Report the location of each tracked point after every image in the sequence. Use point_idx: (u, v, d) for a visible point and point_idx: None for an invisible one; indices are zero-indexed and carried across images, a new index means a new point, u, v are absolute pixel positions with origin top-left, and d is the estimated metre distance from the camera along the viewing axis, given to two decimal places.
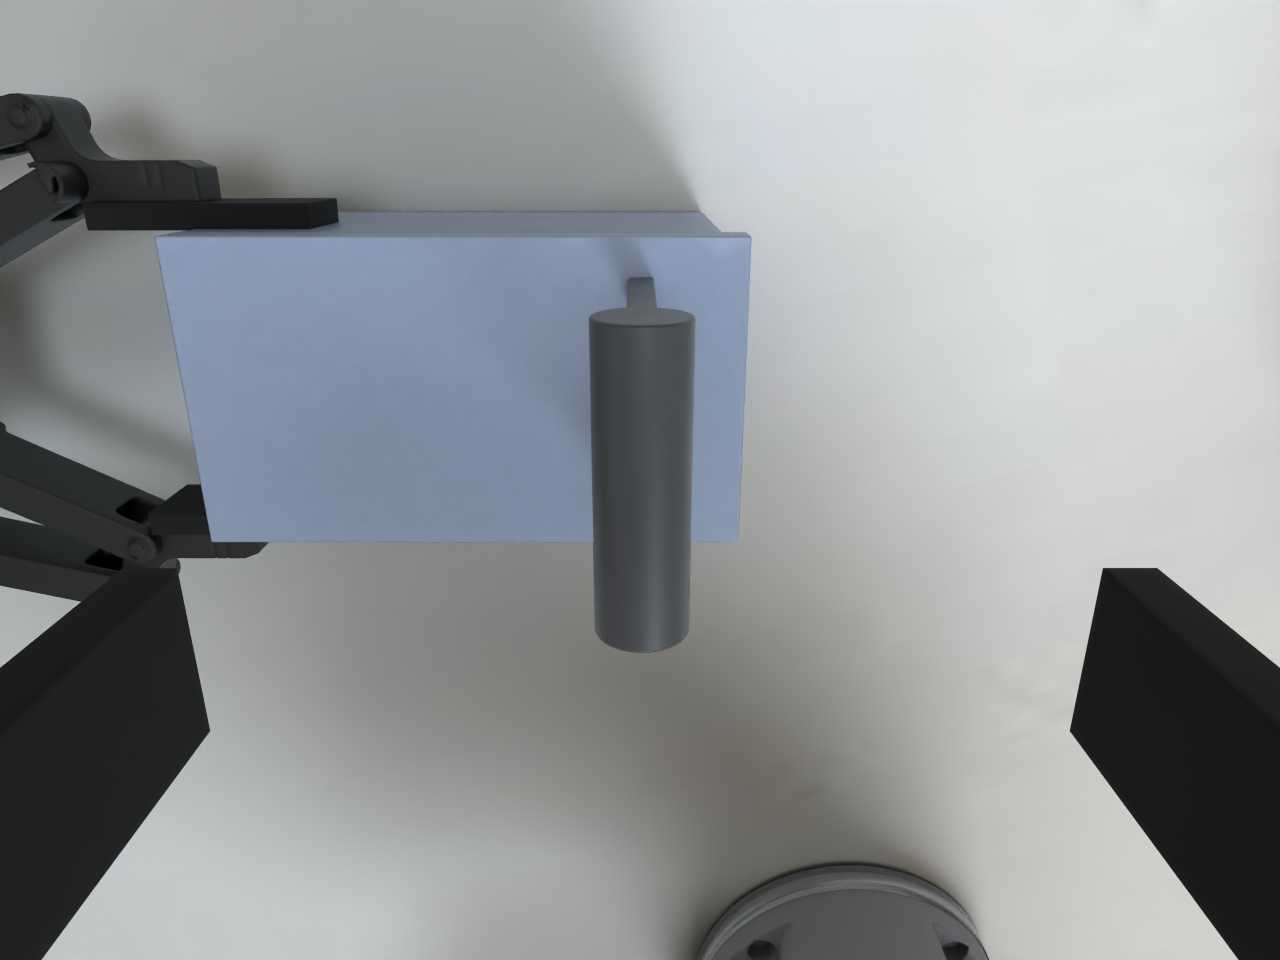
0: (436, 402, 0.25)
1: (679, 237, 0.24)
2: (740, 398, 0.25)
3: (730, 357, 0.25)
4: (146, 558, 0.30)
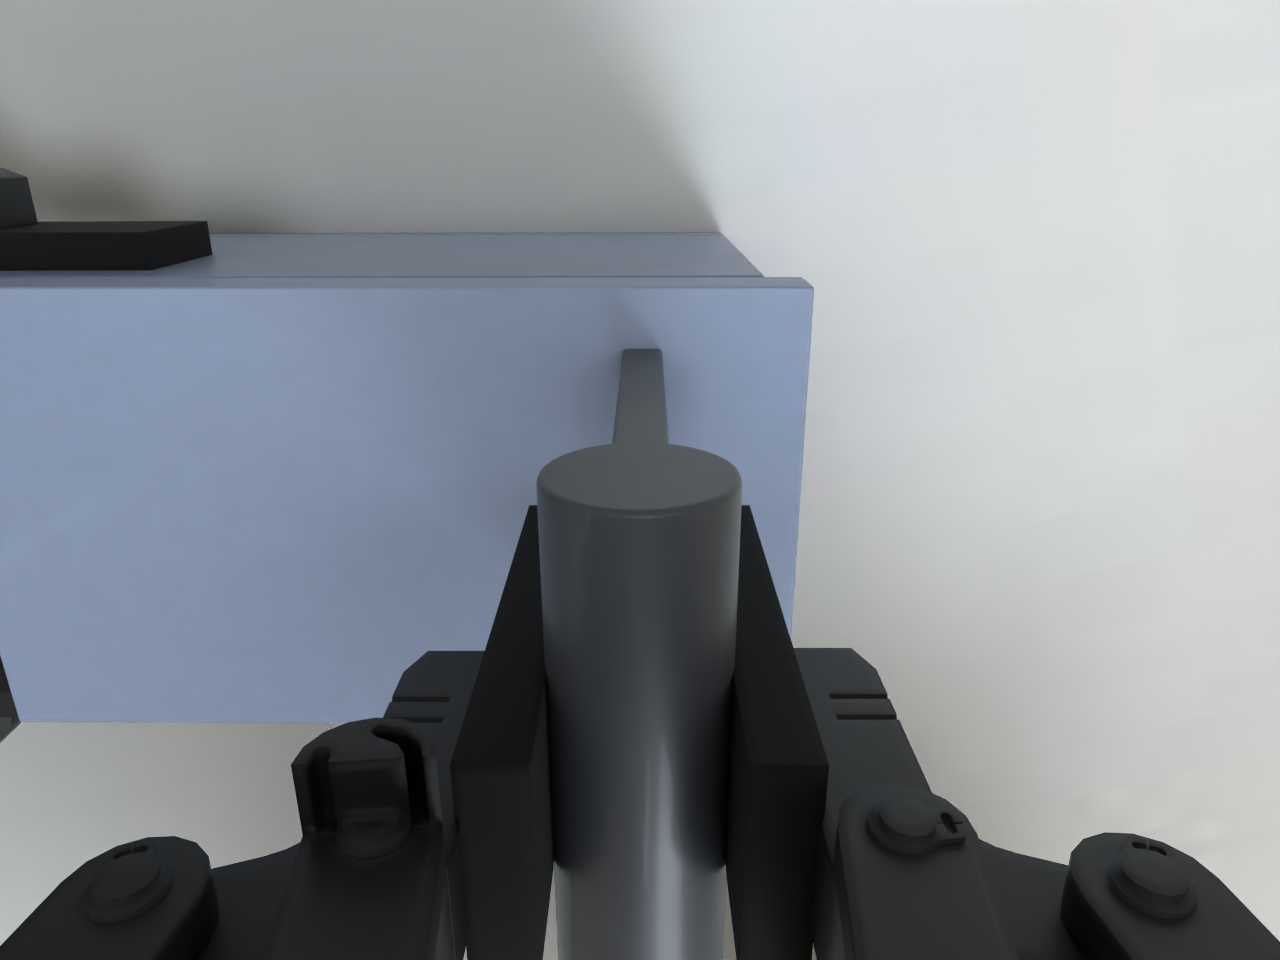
0: (335, 530, 0.17)
1: (701, 288, 0.15)
2: (792, 526, 0.17)
3: (778, 467, 0.16)
4: None
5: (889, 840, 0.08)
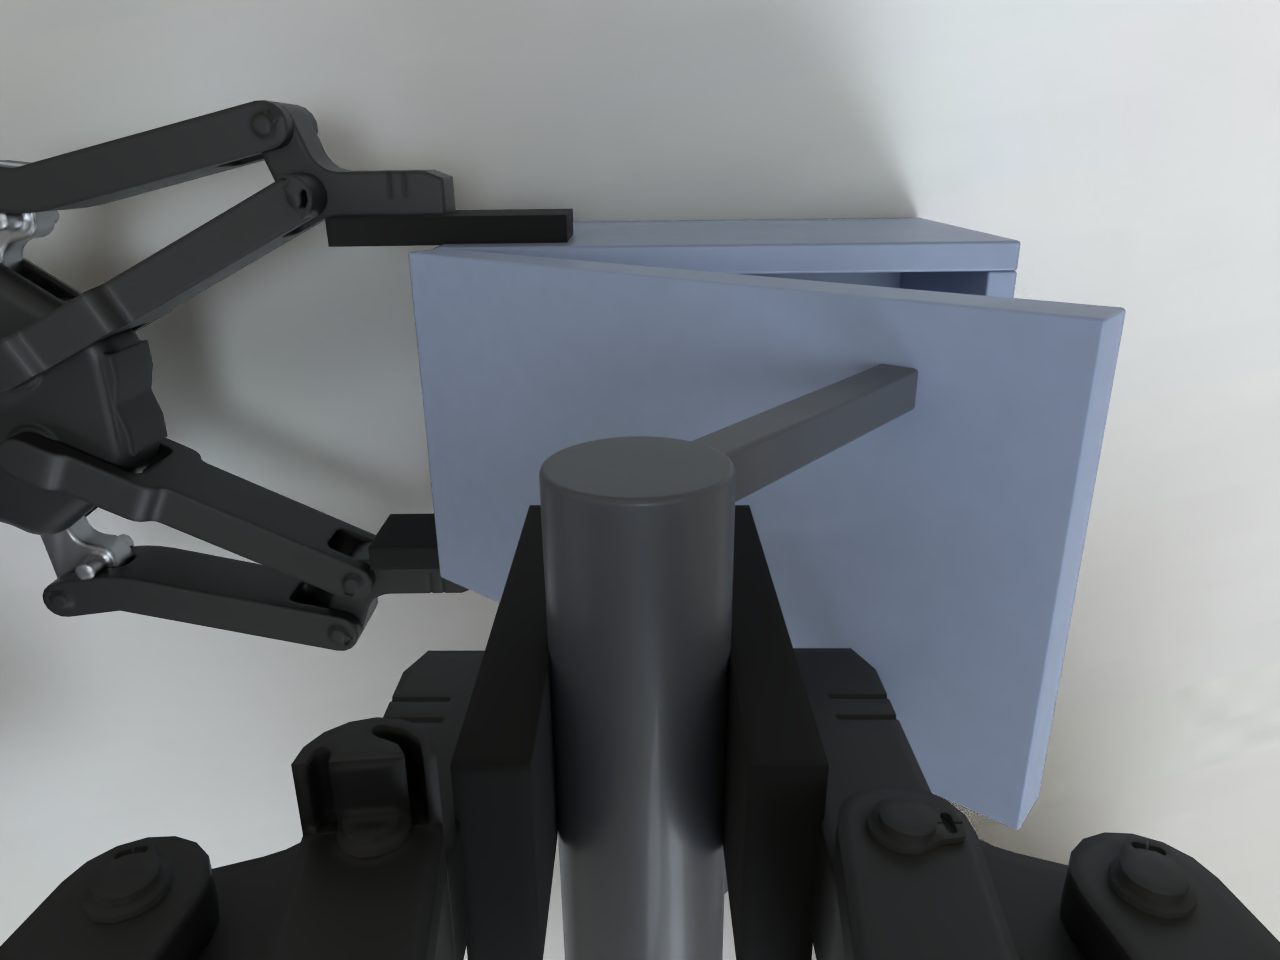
0: None
1: (970, 307, 0.14)
2: (1048, 601, 0.14)
3: (1039, 527, 0.14)
4: (360, 595, 0.28)
5: (888, 840, 0.08)
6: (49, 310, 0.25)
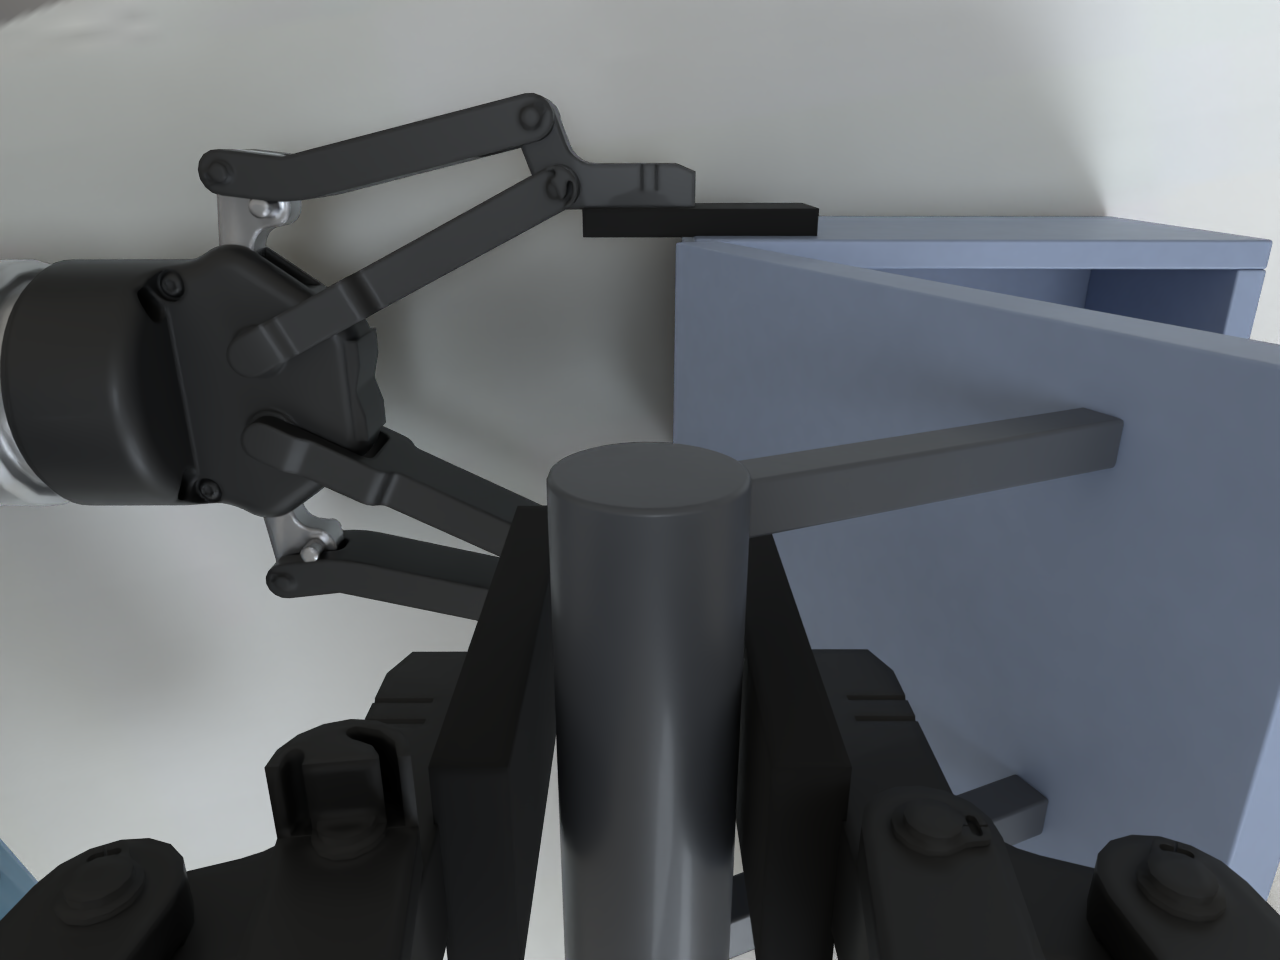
0: None
1: (1196, 350, 0.11)
2: (1252, 744, 0.11)
3: (1250, 646, 0.11)
4: None
5: (914, 842, 0.08)
6: (299, 297, 0.26)
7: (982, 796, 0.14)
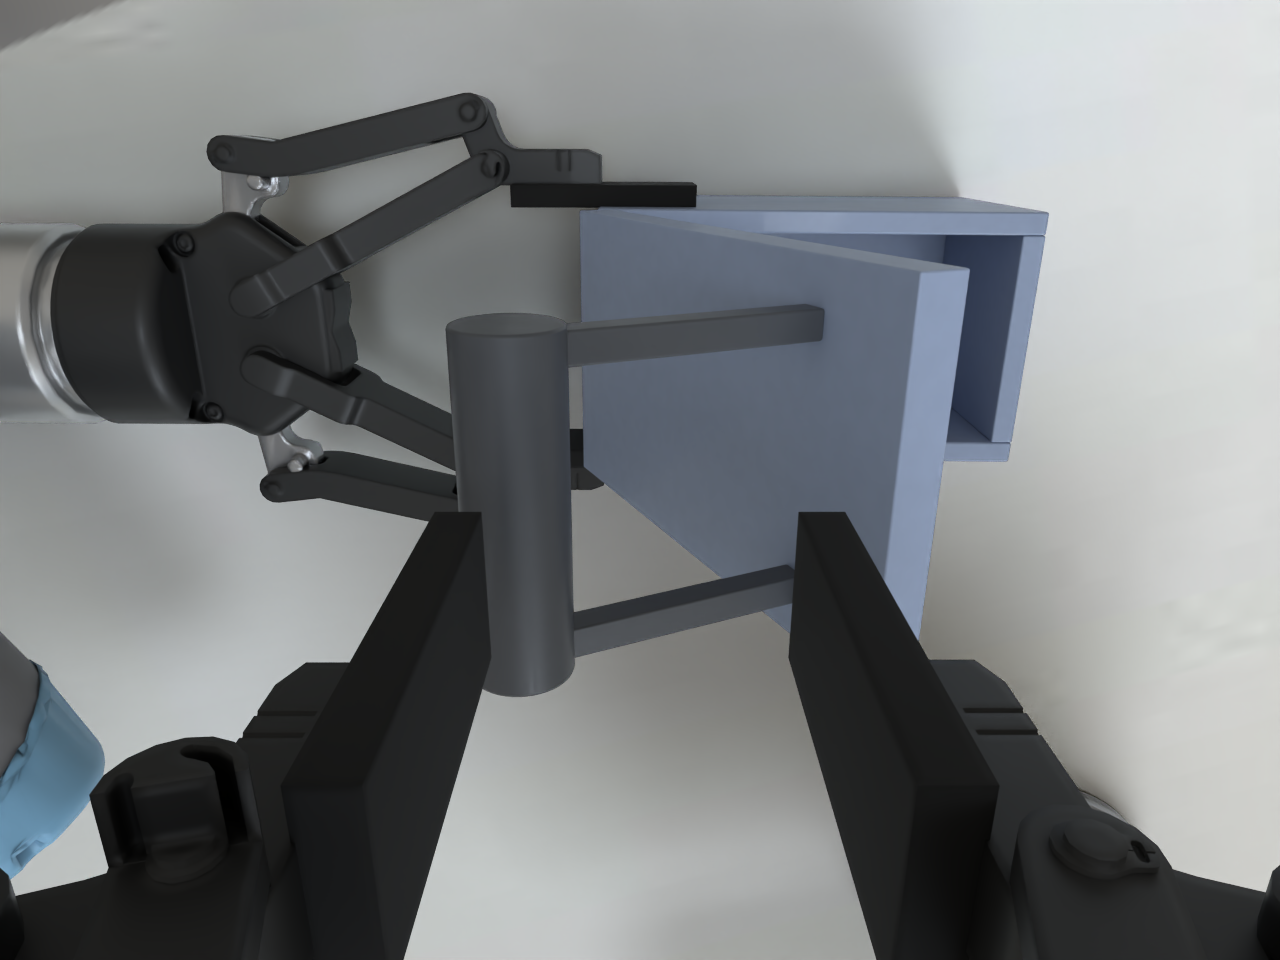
0: (679, 399, 0.25)
1: (853, 260, 0.17)
2: (888, 502, 0.17)
3: (884, 440, 0.17)
4: None
5: (1075, 862, 0.07)
6: (287, 254, 0.32)
7: (759, 574, 0.21)
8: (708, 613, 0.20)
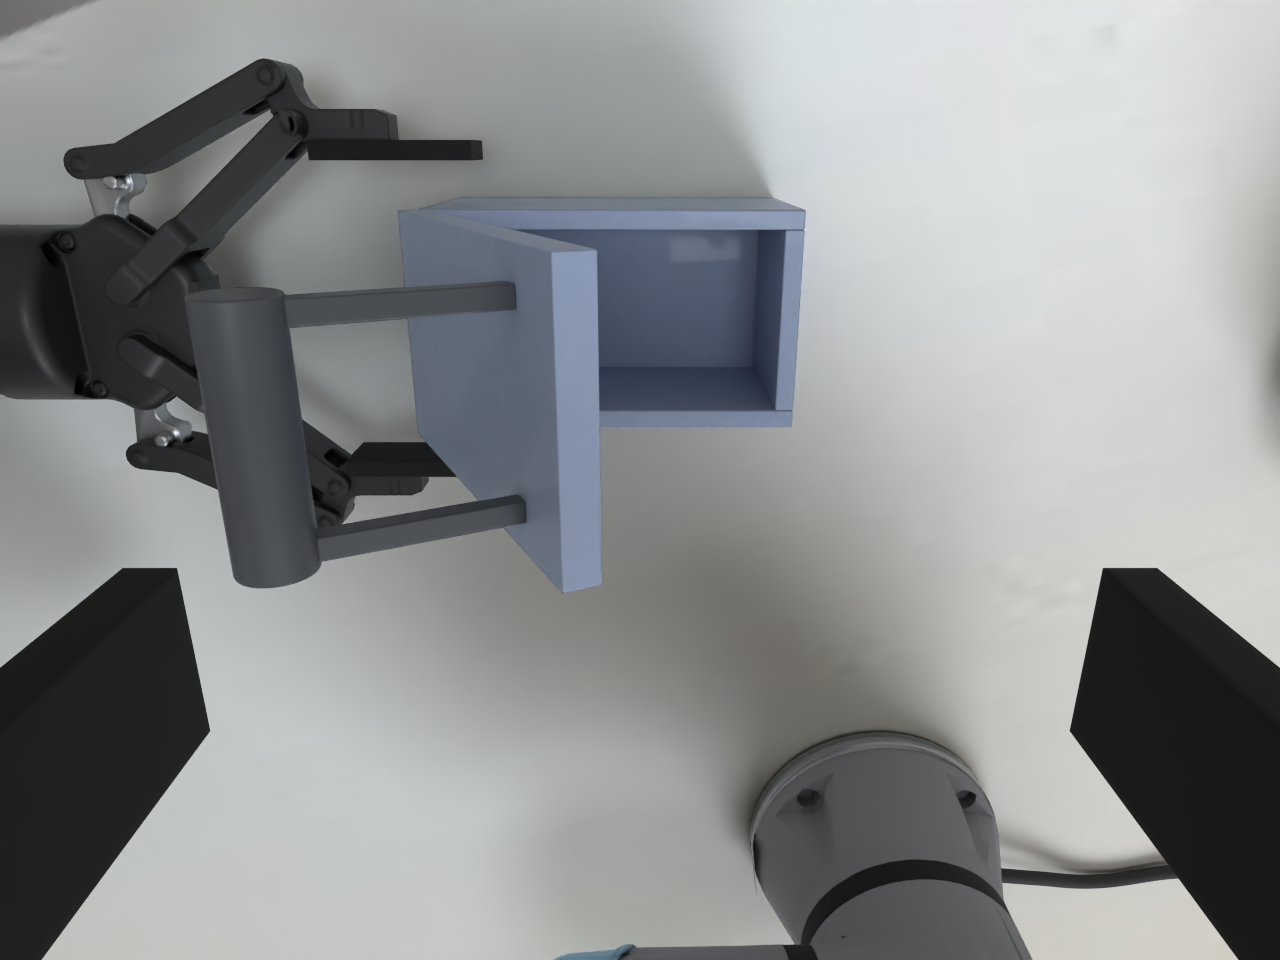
0: (458, 366, 0.30)
1: (524, 245, 0.22)
2: (554, 433, 0.22)
3: (549, 384, 0.22)
4: (339, 495, 0.41)
5: None
6: None
7: (489, 501, 0.26)
8: (439, 530, 0.25)
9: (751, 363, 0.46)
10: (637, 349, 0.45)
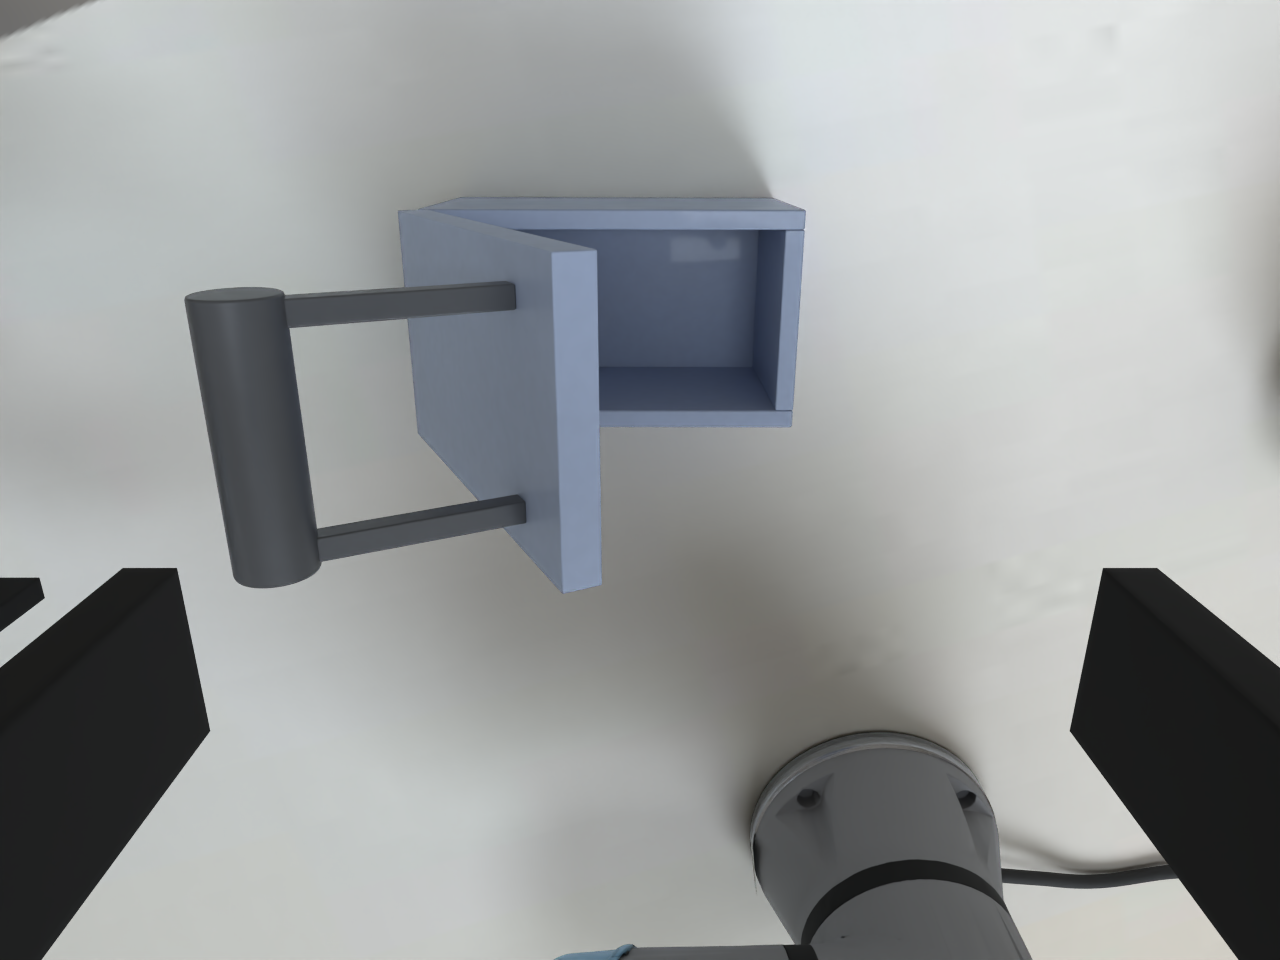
0: (458, 366, 0.30)
1: (524, 245, 0.22)
2: (554, 433, 0.22)
3: (548, 385, 0.22)
4: None
5: None
6: None
7: (489, 501, 0.26)
8: (439, 530, 0.25)
9: (751, 363, 0.46)
10: (637, 349, 0.45)
